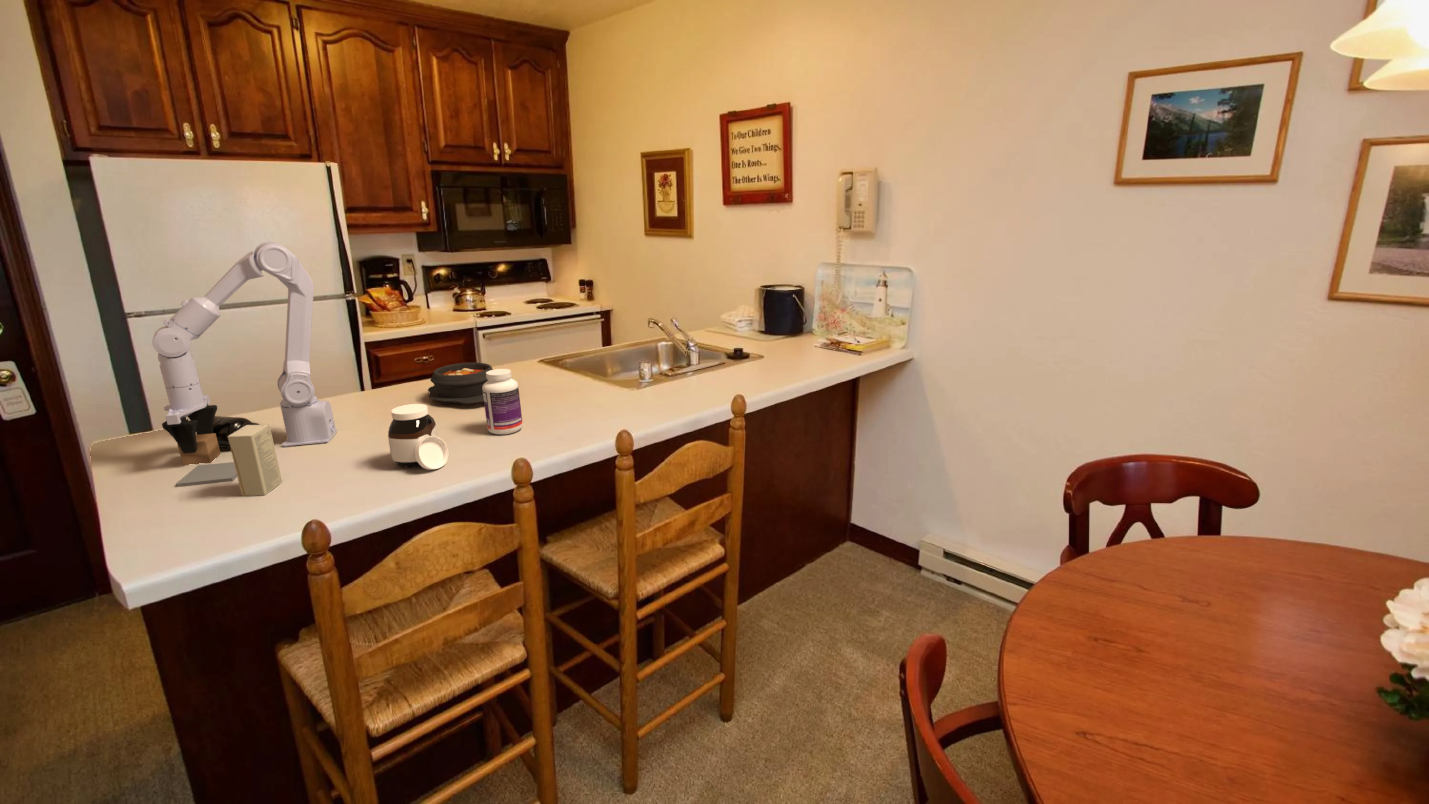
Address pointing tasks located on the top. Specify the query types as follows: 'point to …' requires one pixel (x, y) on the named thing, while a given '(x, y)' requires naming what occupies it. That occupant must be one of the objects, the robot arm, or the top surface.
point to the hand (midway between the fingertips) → (198, 446)
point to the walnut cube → (202, 450)
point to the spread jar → (415, 438)
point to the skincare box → (255, 459)
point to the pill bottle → (502, 402)
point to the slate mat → (209, 474)
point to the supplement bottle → (228, 428)
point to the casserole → (459, 383)
